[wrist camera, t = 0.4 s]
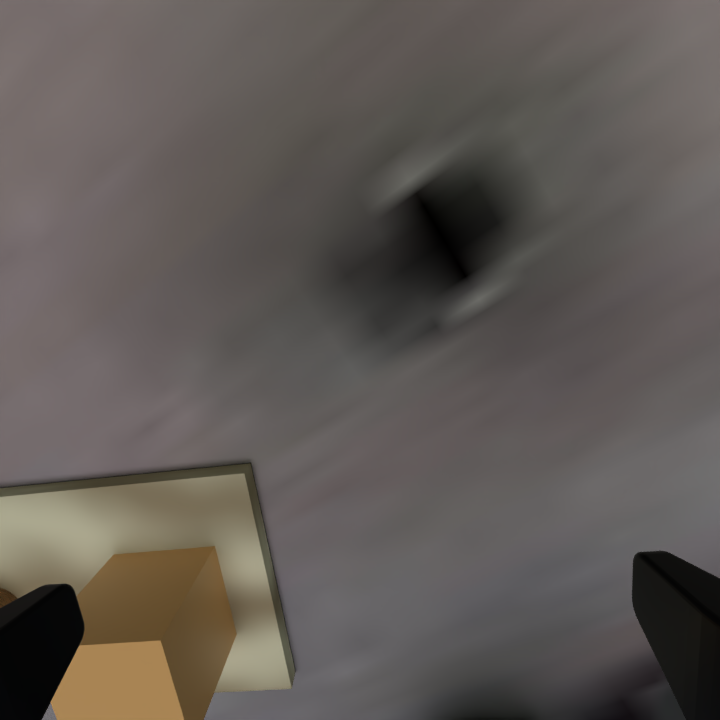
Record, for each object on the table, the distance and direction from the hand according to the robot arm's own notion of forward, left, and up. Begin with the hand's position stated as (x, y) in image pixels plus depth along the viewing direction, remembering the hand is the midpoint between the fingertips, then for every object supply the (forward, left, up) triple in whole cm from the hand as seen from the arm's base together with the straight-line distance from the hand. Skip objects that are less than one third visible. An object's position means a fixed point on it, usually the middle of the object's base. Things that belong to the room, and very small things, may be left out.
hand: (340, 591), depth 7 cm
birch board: (-11, +17, -14) cm, 24 cm away
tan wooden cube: (-11, +12, -13) cm, 20 cm away
